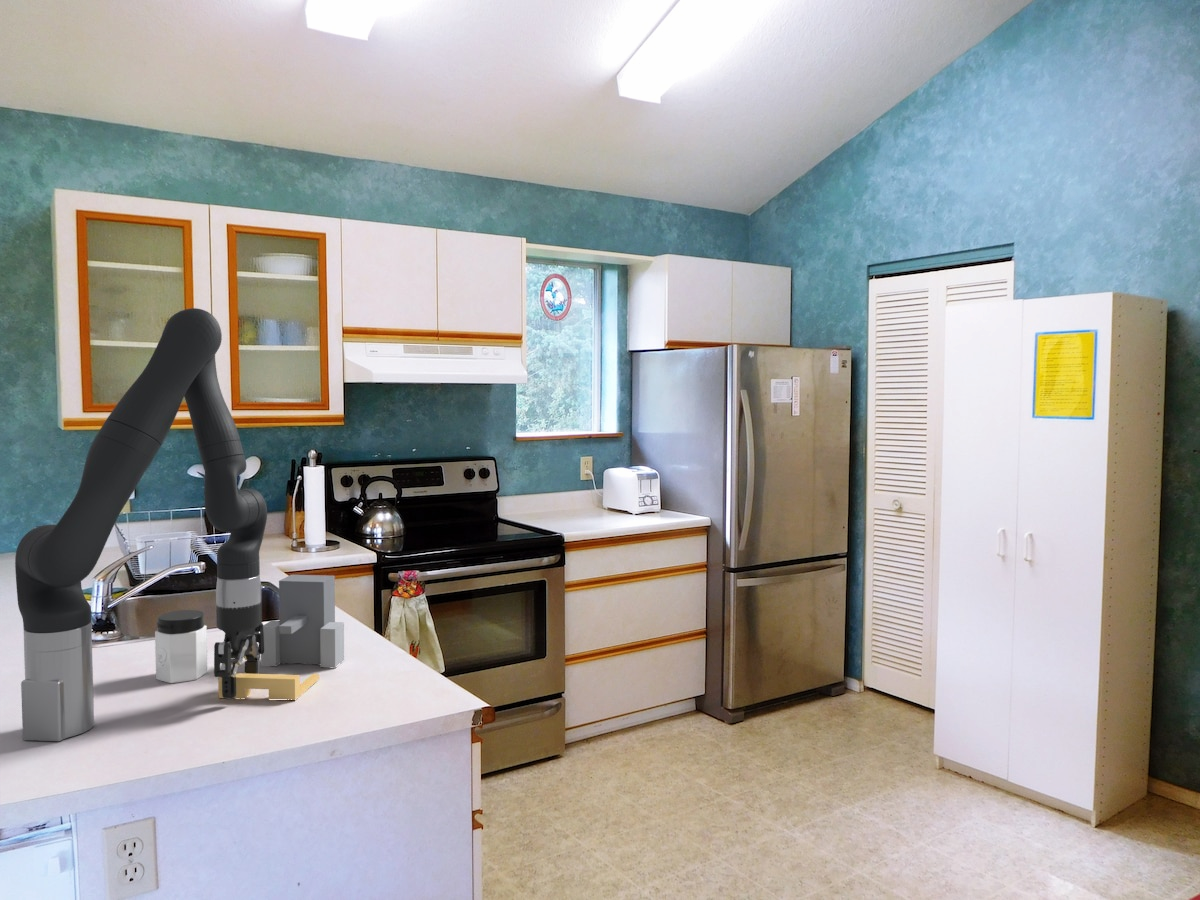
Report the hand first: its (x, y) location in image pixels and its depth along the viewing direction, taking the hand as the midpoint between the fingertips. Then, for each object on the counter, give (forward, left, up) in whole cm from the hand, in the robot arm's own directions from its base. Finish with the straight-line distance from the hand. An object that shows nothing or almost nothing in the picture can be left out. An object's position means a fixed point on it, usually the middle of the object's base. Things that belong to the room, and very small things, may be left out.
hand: (240, 688), depth 153 cm
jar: (+10, +16, -2) cm, 19 cm away
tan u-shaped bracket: (+4, -4, -1) cm, 6 cm away
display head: (+18, -4, -1) cm, 18 cm away
